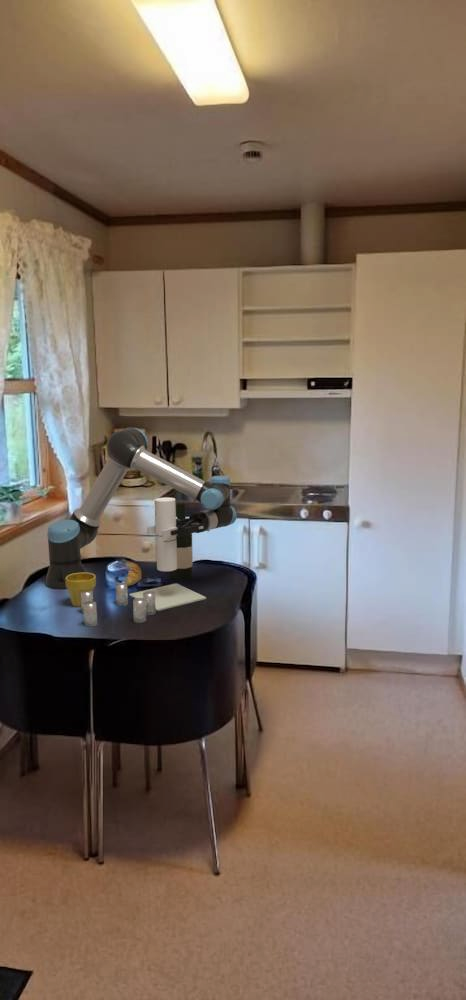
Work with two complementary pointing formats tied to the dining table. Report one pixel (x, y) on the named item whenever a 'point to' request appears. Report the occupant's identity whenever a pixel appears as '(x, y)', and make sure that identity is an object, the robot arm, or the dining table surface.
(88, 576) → the plant pot
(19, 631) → the dining table surface
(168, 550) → the cylindrical container
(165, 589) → the sage board
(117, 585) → the lit candle cluster
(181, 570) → the wine bottle
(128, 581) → the croissant
